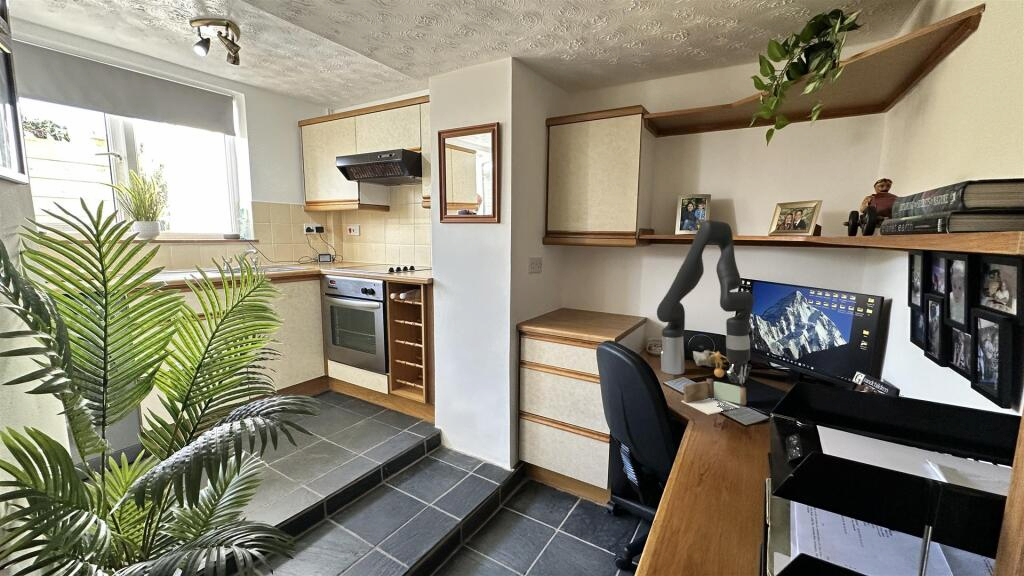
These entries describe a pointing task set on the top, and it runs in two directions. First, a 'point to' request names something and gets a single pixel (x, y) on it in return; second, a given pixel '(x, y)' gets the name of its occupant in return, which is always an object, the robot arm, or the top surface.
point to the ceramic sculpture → (703, 359)
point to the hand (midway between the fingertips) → (739, 392)
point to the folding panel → (730, 393)
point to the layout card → (710, 405)
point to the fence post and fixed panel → (699, 391)
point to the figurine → (718, 371)
